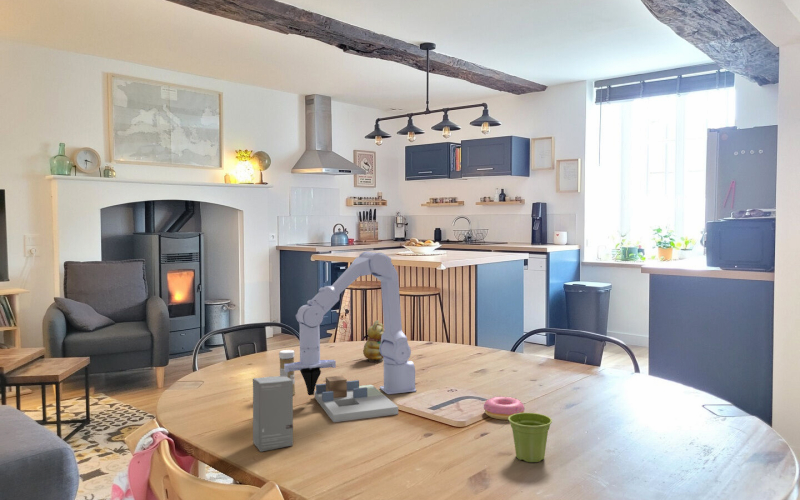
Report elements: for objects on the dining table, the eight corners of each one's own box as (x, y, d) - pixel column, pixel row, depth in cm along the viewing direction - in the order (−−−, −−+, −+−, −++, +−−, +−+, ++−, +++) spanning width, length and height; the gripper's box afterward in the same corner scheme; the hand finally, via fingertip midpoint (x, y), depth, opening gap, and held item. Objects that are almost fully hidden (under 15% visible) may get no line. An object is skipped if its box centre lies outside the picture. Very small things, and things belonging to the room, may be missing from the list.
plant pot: (503, 450, 138) (503, 412, 138) (544, 448, 139) (544, 411, 139) (514, 467, 129) (514, 426, 129) (558, 465, 130) (558, 425, 130)
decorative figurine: (384, 363, 224) (384, 322, 223) (362, 363, 224) (361, 323, 223) (385, 357, 233) (385, 318, 233) (364, 357, 234) (363, 318, 233)
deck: (372, 391, 188) (371, 376, 187) (398, 414, 165) (398, 397, 165) (314, 397, 182) (314, 382, 181) (333, 422, 159) (333, 405, 159)
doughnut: (527, 410, 167) (527, 395, 167) (521, 423, 157) (521, 407, 157) (487, 407, 171) (487, 392, 171) (479, 419, 160) (479, 404, 160)
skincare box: (259, 452, 139) (258, 384, 138) (252, 442, 145) (250, 377, 144) (295, 446, 143) (294, 379, 142) (286, 436, 149) (285, 372, 148)
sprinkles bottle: (297, 395, 184) (296, 351, 183) (283, 397, 182) (282, 353, 181) (291, 391, 188) (290, 348, 187) (277, 394, 185) (276, 350, 185)
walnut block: (342, 392, 180) (342, 375, 179) (346, 396, 175) (346, 379, 175) (325, 393, 178) (325, 377, 178) (329, 398, 173) (329, 381, 173)
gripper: (286, 352, 167) (287, 400, 168) (338, 347, 172) (338, 395, 173) (282, 347, 174) (283, 394, 174) (332, 343, 179) (332, 388, 179)
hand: (310, 394), depth 174 cm, fingers closed
